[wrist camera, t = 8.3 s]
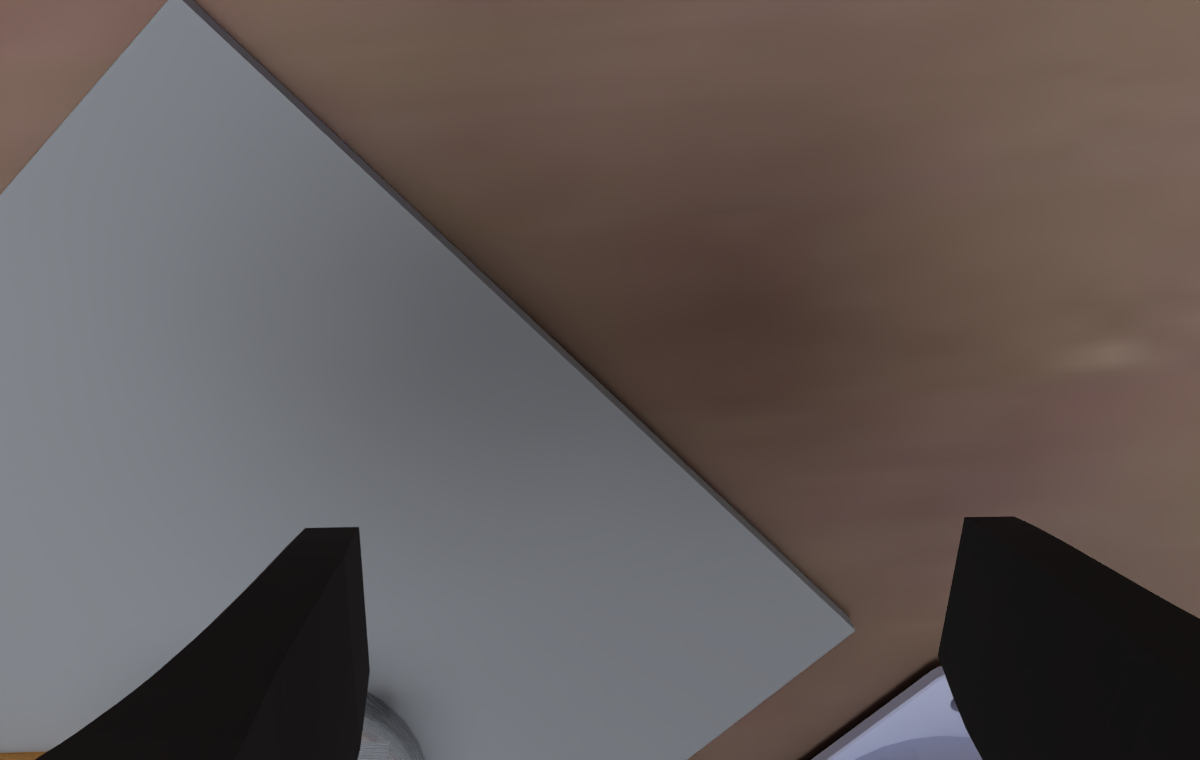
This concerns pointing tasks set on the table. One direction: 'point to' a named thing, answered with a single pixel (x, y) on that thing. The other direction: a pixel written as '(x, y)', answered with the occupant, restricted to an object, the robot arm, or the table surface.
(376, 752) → the brushed metal cube
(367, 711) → the scoop
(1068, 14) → the table surface
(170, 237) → the mat
